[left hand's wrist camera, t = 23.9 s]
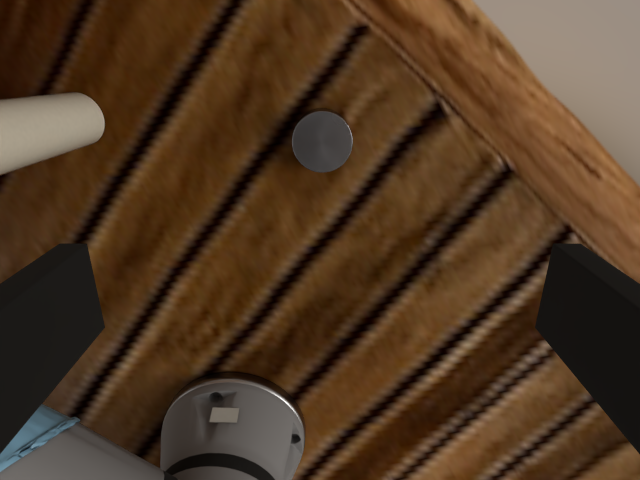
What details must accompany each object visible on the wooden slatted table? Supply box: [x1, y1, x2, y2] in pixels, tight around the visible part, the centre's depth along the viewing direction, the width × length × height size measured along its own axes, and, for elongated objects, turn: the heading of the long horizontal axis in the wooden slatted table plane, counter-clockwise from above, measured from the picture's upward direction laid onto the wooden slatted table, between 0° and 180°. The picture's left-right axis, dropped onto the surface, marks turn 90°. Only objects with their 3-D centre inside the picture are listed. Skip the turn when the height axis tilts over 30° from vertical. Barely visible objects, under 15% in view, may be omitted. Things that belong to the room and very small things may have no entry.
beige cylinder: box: [0, 92, 105, 175], centre depth 29 cm, size 4×4×16 cm
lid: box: [292, 108, 353, 172], centre depth 35 cm, size 5×5×2 cm
